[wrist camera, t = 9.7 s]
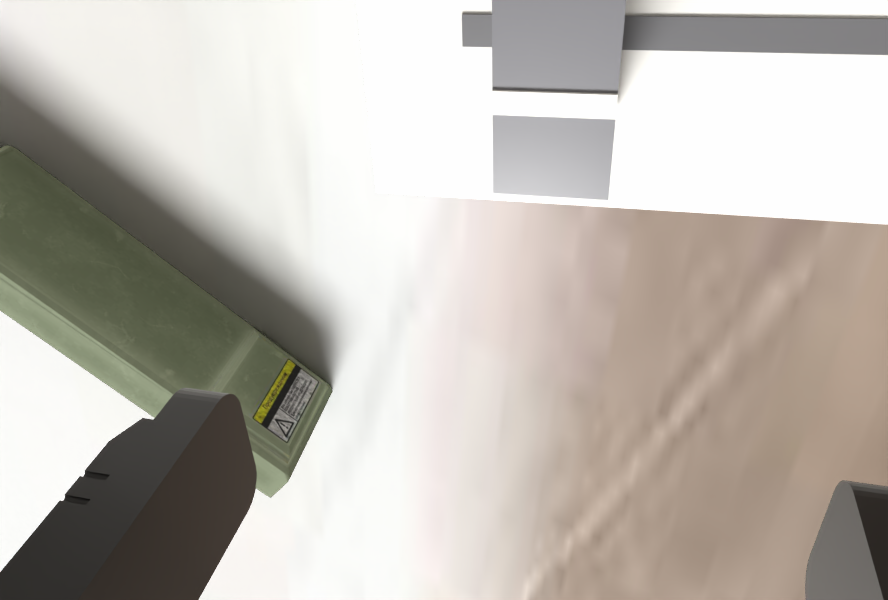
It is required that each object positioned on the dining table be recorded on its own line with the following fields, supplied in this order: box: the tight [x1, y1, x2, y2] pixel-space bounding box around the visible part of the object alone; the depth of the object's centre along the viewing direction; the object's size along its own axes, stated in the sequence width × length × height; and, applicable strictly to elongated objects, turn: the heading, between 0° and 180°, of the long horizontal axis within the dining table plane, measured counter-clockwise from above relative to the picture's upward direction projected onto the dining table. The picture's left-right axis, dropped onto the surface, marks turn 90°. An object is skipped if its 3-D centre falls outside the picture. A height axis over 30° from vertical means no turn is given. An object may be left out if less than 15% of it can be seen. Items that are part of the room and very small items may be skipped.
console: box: [356, 0, 888, 224], centre depth 23 cm, size 30×12×3 cm, turn 93°
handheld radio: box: [0, 145, 332, 498], centre depth 34 cm, size 7×3×25 cm
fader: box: [492, 0, 626, 200], centre depth 21 cm, size 3×5×6 cm, turn 3°
